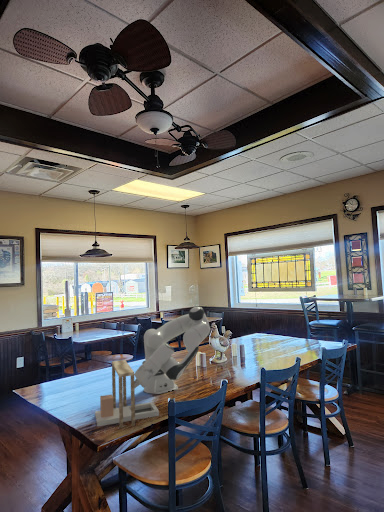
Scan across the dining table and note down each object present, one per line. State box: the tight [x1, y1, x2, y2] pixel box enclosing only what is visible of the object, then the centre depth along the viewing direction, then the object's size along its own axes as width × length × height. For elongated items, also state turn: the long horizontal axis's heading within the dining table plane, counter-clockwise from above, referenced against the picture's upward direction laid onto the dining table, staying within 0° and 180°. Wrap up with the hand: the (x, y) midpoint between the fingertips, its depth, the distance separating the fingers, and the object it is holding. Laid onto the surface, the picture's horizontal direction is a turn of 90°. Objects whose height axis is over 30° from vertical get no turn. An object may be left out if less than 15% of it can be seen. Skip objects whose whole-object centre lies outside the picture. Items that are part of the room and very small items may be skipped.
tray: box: [94, 401, 160, 427], centre depth 185 cm, size 32×14×2 cm, turn 110°
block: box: [99, 393, 114, 417], centre depth 182 cm, size 6×6×9 cm
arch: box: [111, 359, 136, 429], centre depth 185 cm, size 8×28×26 cm, turn 20°
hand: (132, 387), depth 187 cm, fingers closed
